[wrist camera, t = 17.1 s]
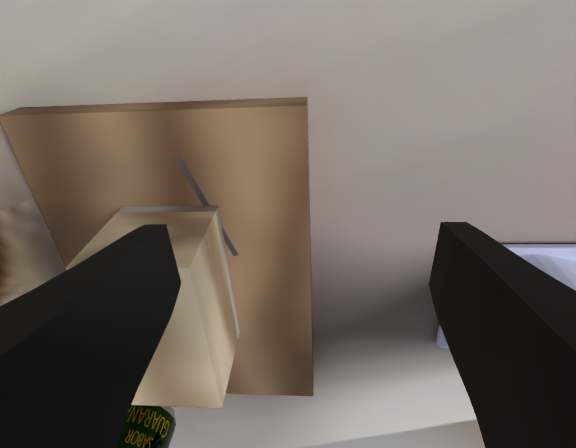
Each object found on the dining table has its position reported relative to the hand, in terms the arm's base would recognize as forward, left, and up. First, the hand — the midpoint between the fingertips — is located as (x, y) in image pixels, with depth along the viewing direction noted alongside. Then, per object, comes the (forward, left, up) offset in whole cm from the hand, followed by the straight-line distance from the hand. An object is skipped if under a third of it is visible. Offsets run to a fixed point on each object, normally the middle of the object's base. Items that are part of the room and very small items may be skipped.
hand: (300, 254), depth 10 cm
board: (+7, +8, -9) cm, 14 cm away
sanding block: (+7, +7, -8) cm, 13 cm away
